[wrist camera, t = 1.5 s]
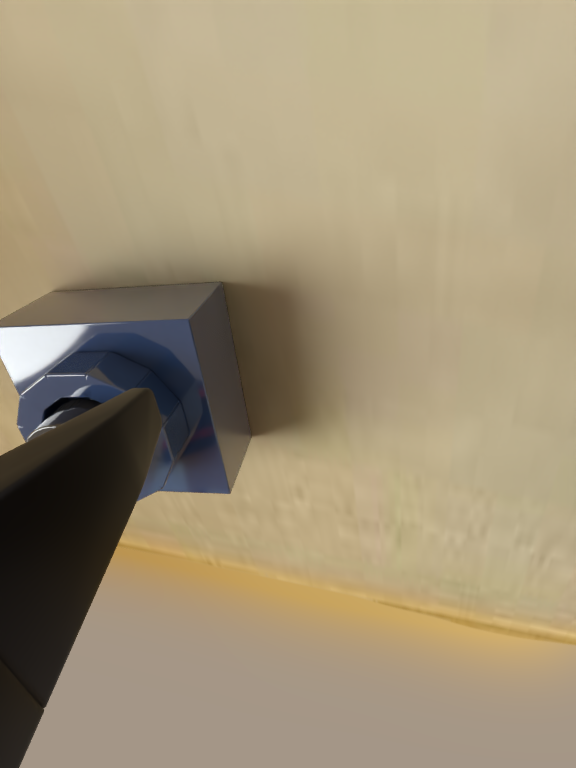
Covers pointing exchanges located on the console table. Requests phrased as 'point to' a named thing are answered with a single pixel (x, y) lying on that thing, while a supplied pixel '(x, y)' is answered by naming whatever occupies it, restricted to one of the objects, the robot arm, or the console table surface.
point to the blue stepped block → (139, 371)
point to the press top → (63, 415)
